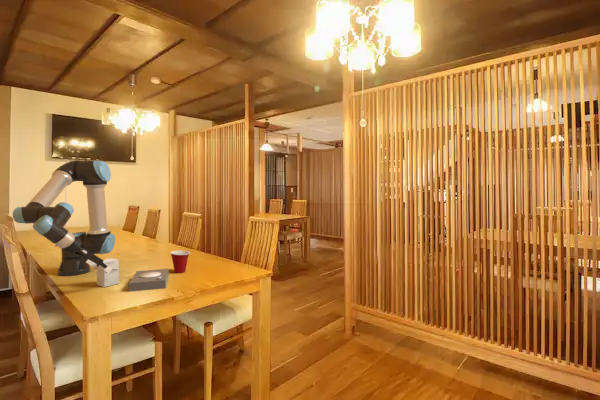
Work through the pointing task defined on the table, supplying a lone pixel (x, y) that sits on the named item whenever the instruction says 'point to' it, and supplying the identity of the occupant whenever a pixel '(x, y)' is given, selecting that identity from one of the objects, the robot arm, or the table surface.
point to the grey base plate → (149, 280)
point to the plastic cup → (180, 260)
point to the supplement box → (108, 278)
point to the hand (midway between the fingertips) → (104, 269)
